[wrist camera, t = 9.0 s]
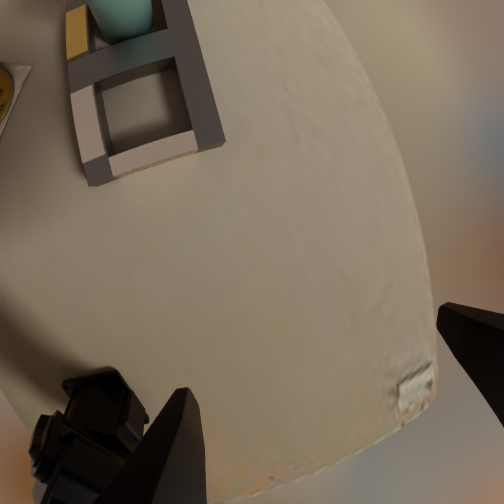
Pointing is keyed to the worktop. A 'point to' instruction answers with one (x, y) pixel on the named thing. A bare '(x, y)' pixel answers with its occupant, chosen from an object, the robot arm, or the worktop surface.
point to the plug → (122, 18)
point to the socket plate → (130, 68)
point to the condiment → (10, 88)
